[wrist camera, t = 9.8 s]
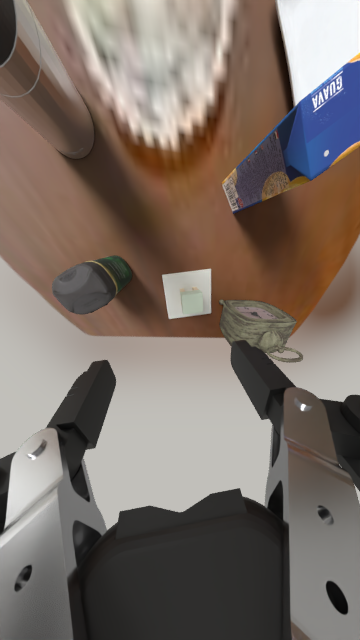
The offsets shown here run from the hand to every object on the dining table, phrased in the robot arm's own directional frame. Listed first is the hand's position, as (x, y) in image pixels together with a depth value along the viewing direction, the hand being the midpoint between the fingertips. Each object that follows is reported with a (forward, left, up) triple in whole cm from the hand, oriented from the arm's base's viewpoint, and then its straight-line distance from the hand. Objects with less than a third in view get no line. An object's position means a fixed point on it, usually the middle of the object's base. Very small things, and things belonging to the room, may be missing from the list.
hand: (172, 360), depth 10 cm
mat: (+8, +6, -36) cm, 37 cm away
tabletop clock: (+15, +21, -36) cm, 44 cm away
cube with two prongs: (+8, +6, -35) cm, 37 cm away
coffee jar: (-1, -14, -36) cm, 39 cm away
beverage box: (-17, +22, -36) cm, 45 cm away
